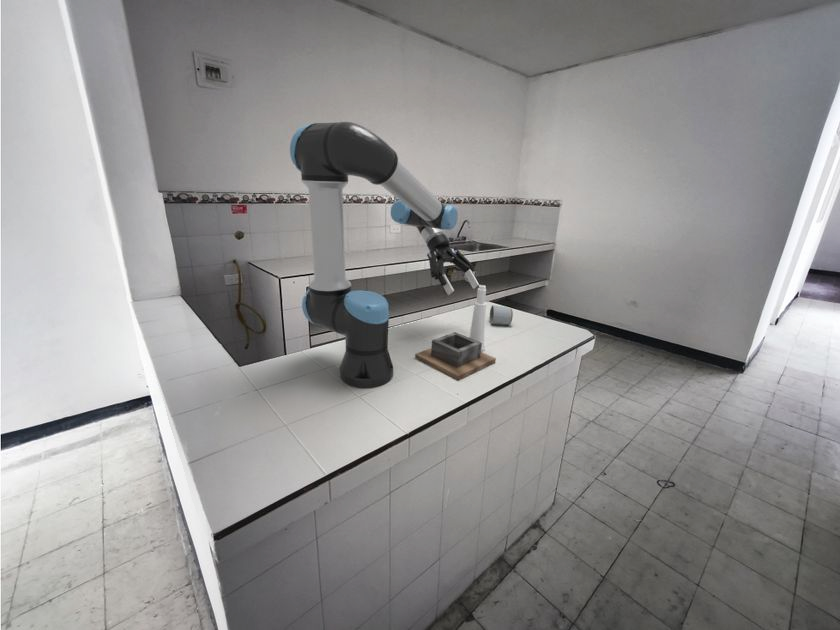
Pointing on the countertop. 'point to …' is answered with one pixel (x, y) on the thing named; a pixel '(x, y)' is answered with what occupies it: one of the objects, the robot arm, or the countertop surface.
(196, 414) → the countertop surface
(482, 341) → the cosmetic bottle
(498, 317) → the ceramic mug
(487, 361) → the bottle holder
